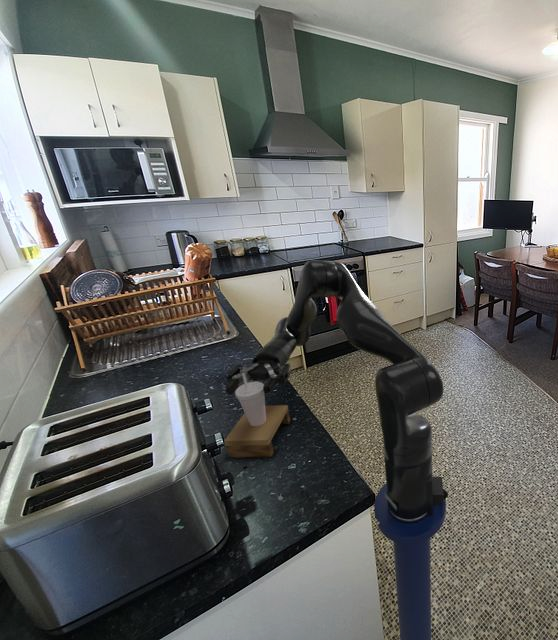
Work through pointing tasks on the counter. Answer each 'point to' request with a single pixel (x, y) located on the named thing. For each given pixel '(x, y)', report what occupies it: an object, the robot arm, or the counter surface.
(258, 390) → the smoothie
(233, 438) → the bench
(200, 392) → the counter surface
